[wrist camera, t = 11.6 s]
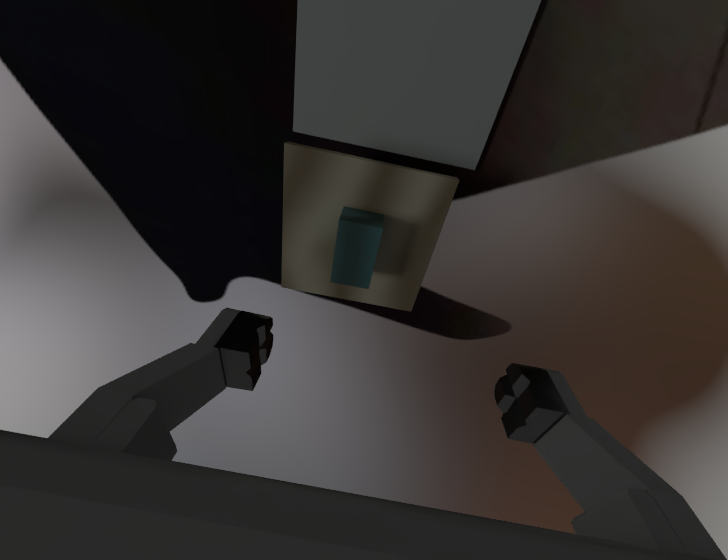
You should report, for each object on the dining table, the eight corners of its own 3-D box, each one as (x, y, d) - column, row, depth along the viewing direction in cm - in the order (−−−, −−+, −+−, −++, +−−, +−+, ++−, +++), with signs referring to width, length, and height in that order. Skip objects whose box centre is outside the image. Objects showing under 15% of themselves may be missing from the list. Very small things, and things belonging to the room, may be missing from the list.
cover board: (457, 177, 23) (468, 191, 20) (410, 306, 31) (413, 331, 28) (287, 141, 22) (271, 149, 19) (283, 282, 30) (271, 305, 27)
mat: (585, -121, 18) (591, -127, 17) (473, 168, 28) (474, 170, 28) (307, -195, 17) (304, -204, 17) (294, 130, 27) (293, 131, 27)
